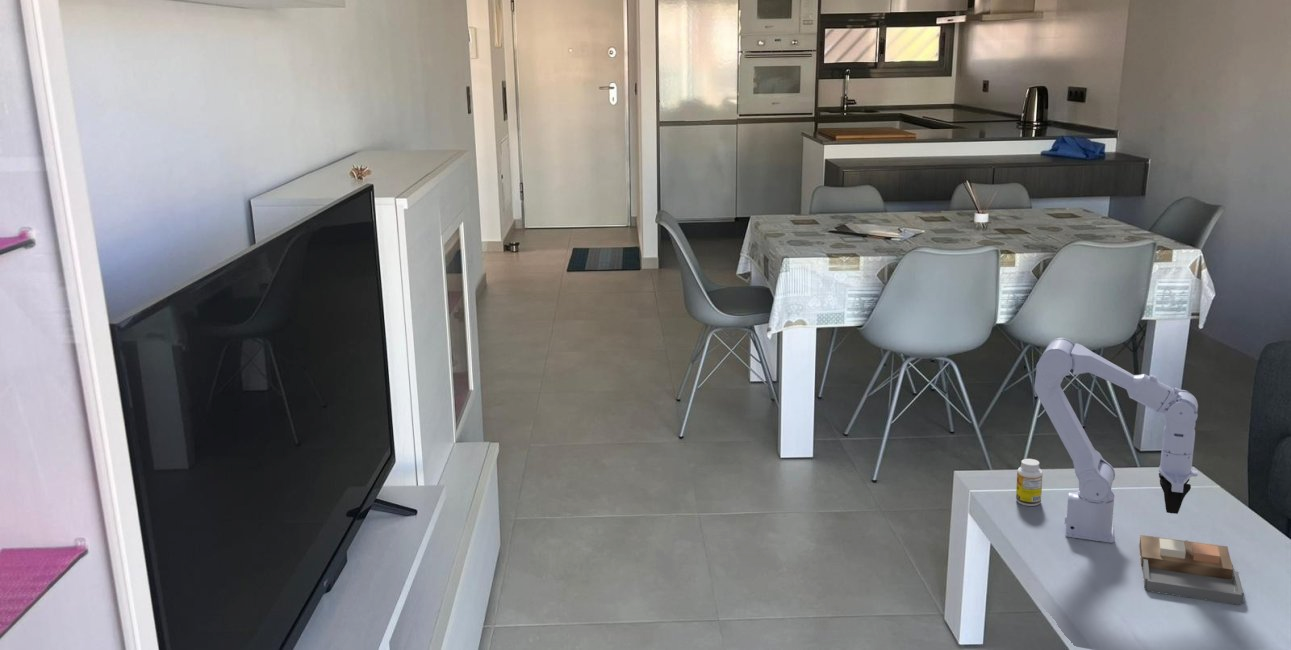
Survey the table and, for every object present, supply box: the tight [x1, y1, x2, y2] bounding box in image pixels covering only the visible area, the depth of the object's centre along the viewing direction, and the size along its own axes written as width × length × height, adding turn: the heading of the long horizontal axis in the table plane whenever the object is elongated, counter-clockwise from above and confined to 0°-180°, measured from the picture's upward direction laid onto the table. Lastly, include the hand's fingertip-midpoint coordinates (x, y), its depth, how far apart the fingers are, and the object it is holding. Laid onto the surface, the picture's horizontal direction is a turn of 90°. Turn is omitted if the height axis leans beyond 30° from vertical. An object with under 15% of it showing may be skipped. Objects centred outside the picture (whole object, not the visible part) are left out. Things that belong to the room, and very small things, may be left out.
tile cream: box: [1159, 537, 1186, 559], centre depth 198 cm, size 4×4×2 cm
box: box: [1142, 559, 1244, 606], centre depth 190 cm, size 17×9×2 cm, turn 66°
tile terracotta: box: [1192, 542, 1220, 563], centre depth 196 cm, size 4×4×2 cm
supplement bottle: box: [1015, 458, 1043, 507], centre depth 228 cm, size 6×6×10 cm
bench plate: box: [1138, 534, 1234, 580], centre depth 198 cm, size 16×10×2 cm, turn 66°
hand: (1171, 510), depth 203 cm, fingers closed
